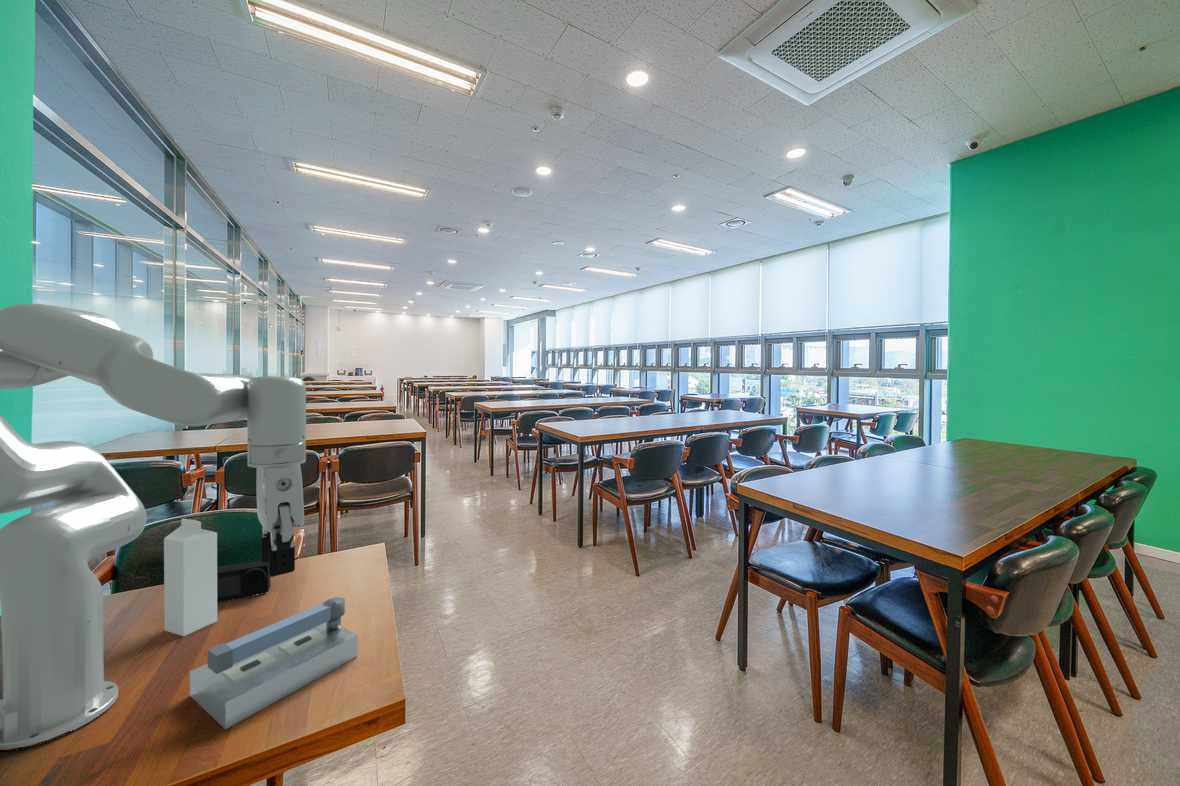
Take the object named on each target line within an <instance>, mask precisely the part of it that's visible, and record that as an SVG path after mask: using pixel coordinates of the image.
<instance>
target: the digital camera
mask: <svg viewBox="0 0 1180 786" xmlns="http://www.w3.org/2000/svg"><path fill="white" fill-rule="evenodd" d="M271 578H272V577H271V576H270V575H269V562H266V563H263V562H262V561H261V559H260V560H253V561H248V562H247V561H246V562H242V563H241V562H240V563H235V564H234V563H233V564H228V565H220V566H217V604H218V603H222V602H229V601H233V600H232V599H234V600H239V599H238V598H240V599H244V598H243V597H246V598H248V597H247V596H251V597H253V596H252V595H256V594H261V593H266V592H268V591H269V592H270V589H271V582H272V581H271ZM269 588H270V589H269ZM269 592H268V593H269ZM228 600H229V601H228Z"/></svg>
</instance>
